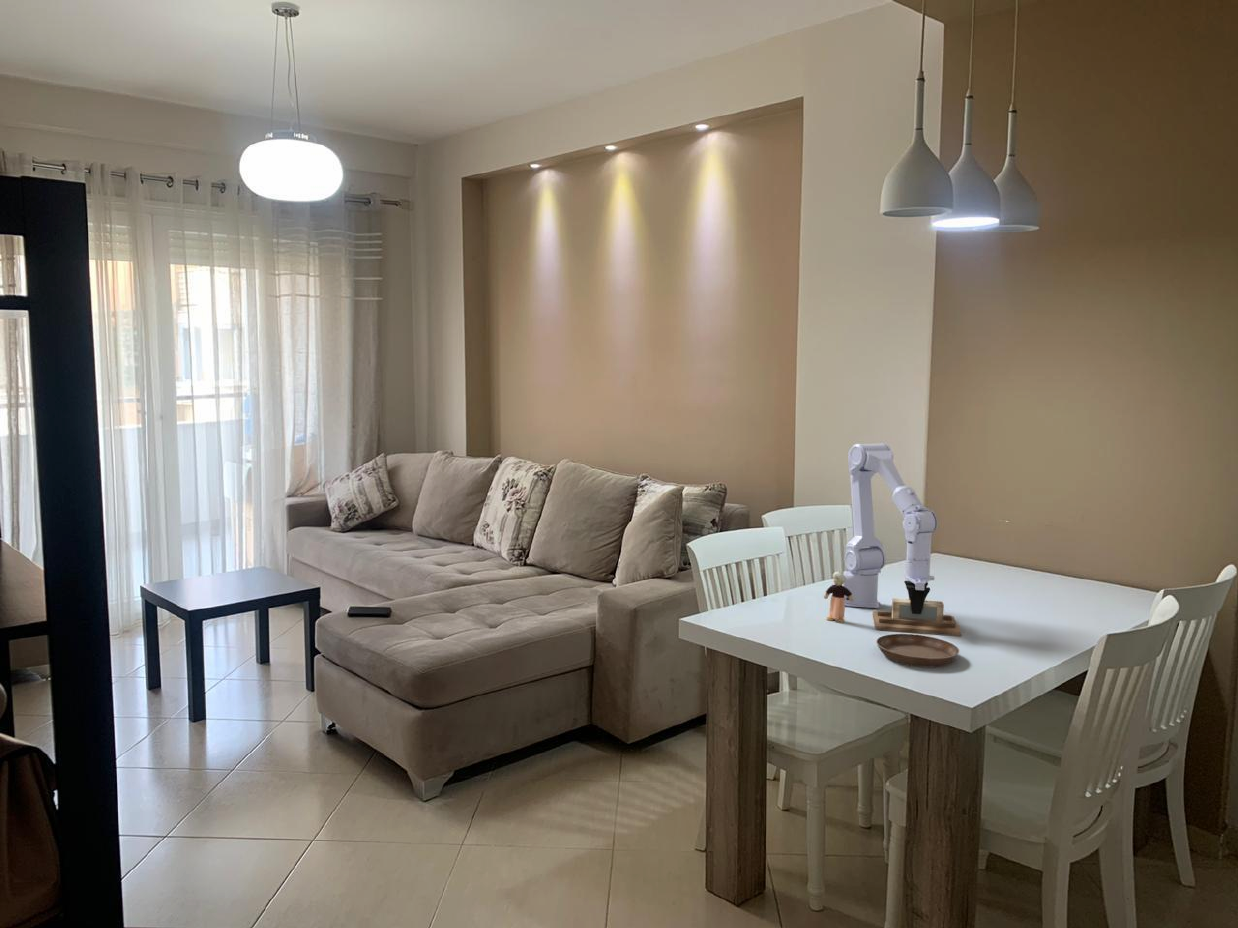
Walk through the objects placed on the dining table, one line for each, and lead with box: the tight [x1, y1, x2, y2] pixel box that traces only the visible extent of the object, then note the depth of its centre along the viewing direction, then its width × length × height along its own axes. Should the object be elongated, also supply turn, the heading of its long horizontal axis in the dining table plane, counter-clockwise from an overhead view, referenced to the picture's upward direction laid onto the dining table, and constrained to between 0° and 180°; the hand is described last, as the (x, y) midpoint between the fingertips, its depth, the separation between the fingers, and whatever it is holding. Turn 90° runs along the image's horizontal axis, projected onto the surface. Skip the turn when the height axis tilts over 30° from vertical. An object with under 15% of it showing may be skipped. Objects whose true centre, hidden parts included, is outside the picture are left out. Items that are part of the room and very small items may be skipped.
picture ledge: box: [872, 610, 962, 637], centre depth 229 cm, size 20×14×2 cm
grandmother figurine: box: [823, 571, 854, 623], centre depth 231 cm, size 8×4×13 cm, turn 68°
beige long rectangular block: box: [891, 598, 944, 622], centre depth 228 cm, size 12×3×5 cm, turn 77°
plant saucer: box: [875, 633, 960, 668], centre depth 204 cm, size 18×18×3 cm
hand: (915, 611), depth 228 cm, fingers closed on beige long rectangular block, 3 cm apart
